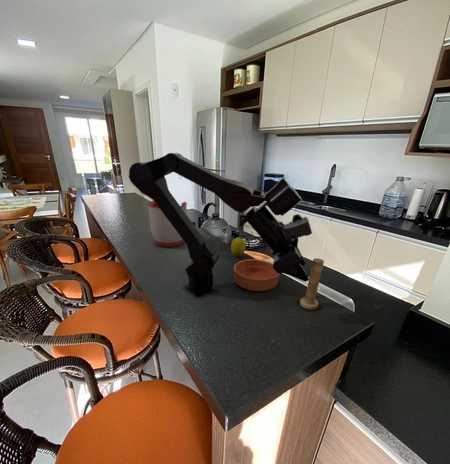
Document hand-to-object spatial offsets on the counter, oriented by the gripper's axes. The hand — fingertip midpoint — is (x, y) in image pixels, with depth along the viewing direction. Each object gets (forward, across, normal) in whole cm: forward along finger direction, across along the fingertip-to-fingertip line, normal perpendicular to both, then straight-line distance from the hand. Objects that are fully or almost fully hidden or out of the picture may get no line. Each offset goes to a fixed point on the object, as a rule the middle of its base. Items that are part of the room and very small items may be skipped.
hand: (305, 272), depth 65 cm
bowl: (-2, +9, +16) cm, 19 cm away
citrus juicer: (-30, +34, +44) cm, 63 cm away
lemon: (-8, +27, +22) cm, 36 cm away
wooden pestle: (+9, 0, +5) cm, 10 cm away
